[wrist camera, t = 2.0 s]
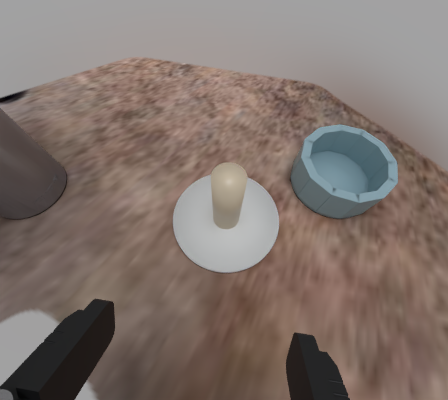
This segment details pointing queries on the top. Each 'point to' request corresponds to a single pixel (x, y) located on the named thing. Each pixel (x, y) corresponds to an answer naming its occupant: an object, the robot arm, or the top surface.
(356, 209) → the bowl
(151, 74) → the top surface
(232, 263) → the lid
